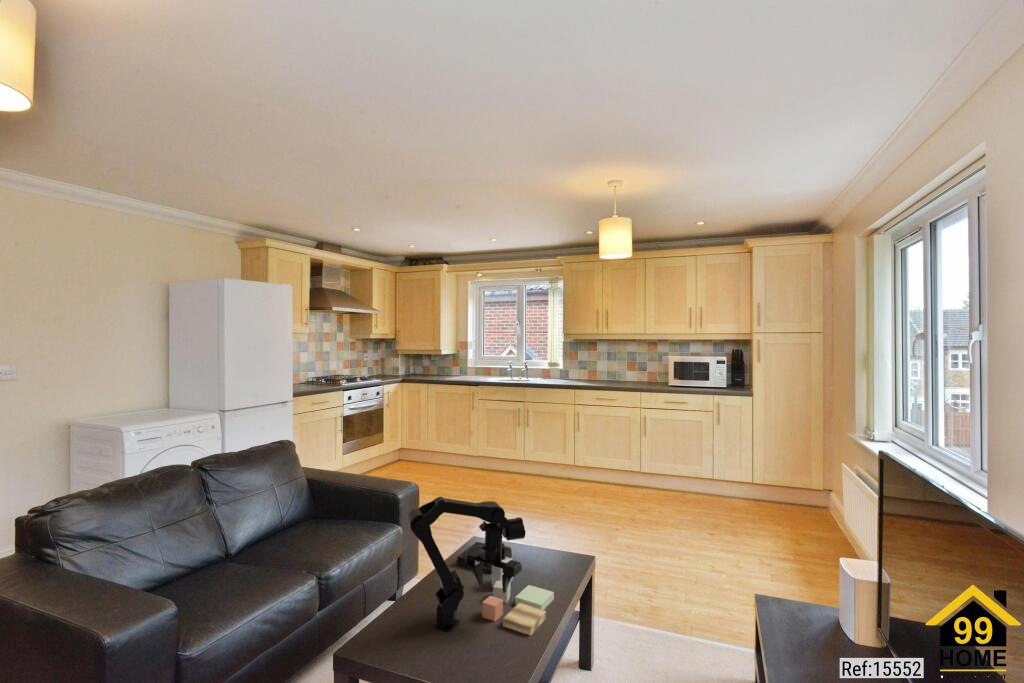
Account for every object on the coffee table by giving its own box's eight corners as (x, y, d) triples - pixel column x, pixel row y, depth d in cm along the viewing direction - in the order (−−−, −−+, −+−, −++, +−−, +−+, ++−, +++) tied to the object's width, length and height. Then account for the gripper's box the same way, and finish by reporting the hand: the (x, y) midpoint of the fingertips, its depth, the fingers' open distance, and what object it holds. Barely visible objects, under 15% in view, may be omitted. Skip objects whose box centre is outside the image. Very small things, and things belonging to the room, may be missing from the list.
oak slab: (530, 635, 156) (530, 627, 155) (502, 626, 160) (502, 618, 160) (546, 618, 165) (546, 611, 165) (519, 610, 170) (519, 602, 170)
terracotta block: (495, 621, 163) (495, 606, 163) (482, 617, 165) (482, 602, 165) (502, 614, 167) (503, 599, 167) (490, 610, 170) (490, 595, 170)
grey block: (506, 603, 174) (506, 588, 174) (492, 601, 176) (493, 586, 176) (510, 596, 179) (510, 582, 179) (496, 594, 181) (497, 580, 180)
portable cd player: (511, 557, 211) (511, 548, 211) (493, 575, 196) (493, 564, 196) (477, 550, 218) (477, 541, 218) (457, 566, 203) (457, 556, 203)
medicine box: (500, 590, 183) (500, 566, 183) (491, 586, 186) (491, 563, 186) (513, 582, 190) (514, 559, 190) (504, 578, 192) (504, 555, 192)
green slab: (541, 612, 169) (541, 605, 169) (515, 604, 174) (515, 597, 174) (553, 599, 177) (553, 592, 177) (528, 591, 182) (528, 584, 182)
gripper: (529, 539, 169) (528, 586, 169) (483, 528, 178) (482, 572, 178) (513, 551, 159) (512, 600, 159) (464, 538, 168) (464, 585, 168)
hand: (492, 588), depth 166 cm, fingers open, 9 cm apart
